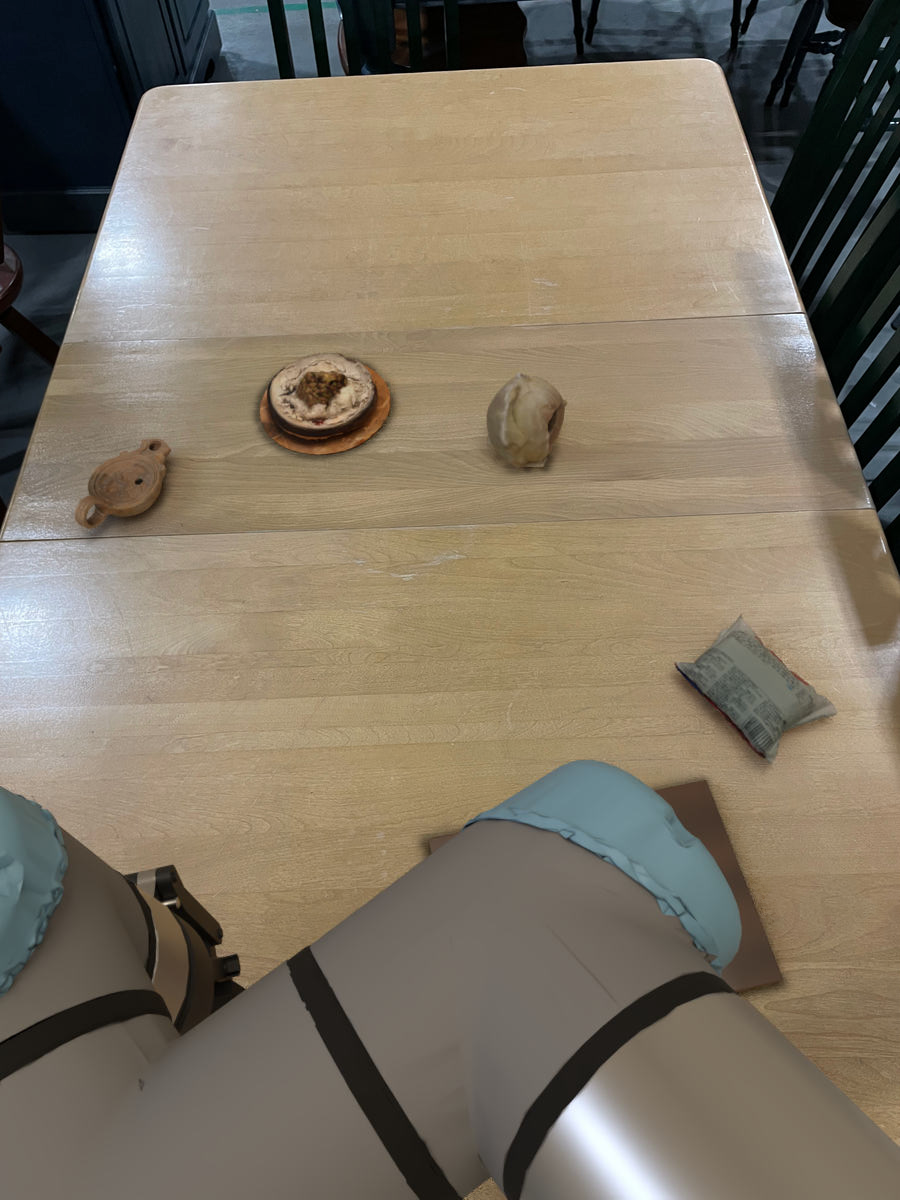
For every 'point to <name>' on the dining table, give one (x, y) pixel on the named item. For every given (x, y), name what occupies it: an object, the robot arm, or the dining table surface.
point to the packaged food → (754, 689)
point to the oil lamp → (125, 484)
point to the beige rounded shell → (525, 420)
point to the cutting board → (705, 823)
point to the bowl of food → (324, 404)
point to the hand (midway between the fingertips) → (238, 1045)
